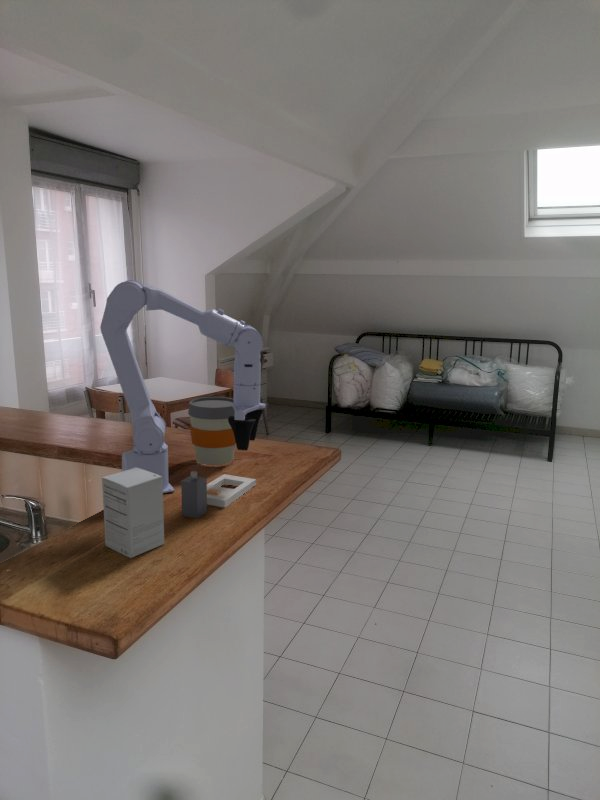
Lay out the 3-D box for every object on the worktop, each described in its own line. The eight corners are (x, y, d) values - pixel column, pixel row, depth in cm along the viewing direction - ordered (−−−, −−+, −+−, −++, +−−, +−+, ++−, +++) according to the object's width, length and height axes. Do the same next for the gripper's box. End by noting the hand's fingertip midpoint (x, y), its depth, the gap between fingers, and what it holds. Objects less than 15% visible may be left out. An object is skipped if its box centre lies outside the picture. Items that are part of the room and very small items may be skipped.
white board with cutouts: (224, 507, 125) (224, 497, 125) (190, 501, 128) (190, 491, 128) (255, 485, 138) (255, 476, 138) (223, 480, 141) (223, 471, 141)
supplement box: (139, 532, 113) (137, 466, 111) (165, 544, 109) (164, 475, 106) (103, 546, 108) (100, 476, 105) (129, 559, 103) (127, 486, 100)
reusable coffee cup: (246, 466, 151) (247, 406, 148) (195, 471, 146) (194, 409, 143) (232, 452, 162) (232, 395, 159) (184, 456, 158) (183, 398, 154)
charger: (197, 518, 120) (197, 476, 118) (181, 515, 121) (181, 473, 120) (206, 511, 123) (206, 470, 122) (191, 508, 125) (190, 468, 123)
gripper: (259, 390, 126) (257, 455, 129) (271, 378, 140) (270, 436, 143) (224, 389, 127) (224, 453, 130) (240, 376, 141) (239, 435, 144)
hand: (246, 444), depth 136 cm, fingers open, 7 cm apart
